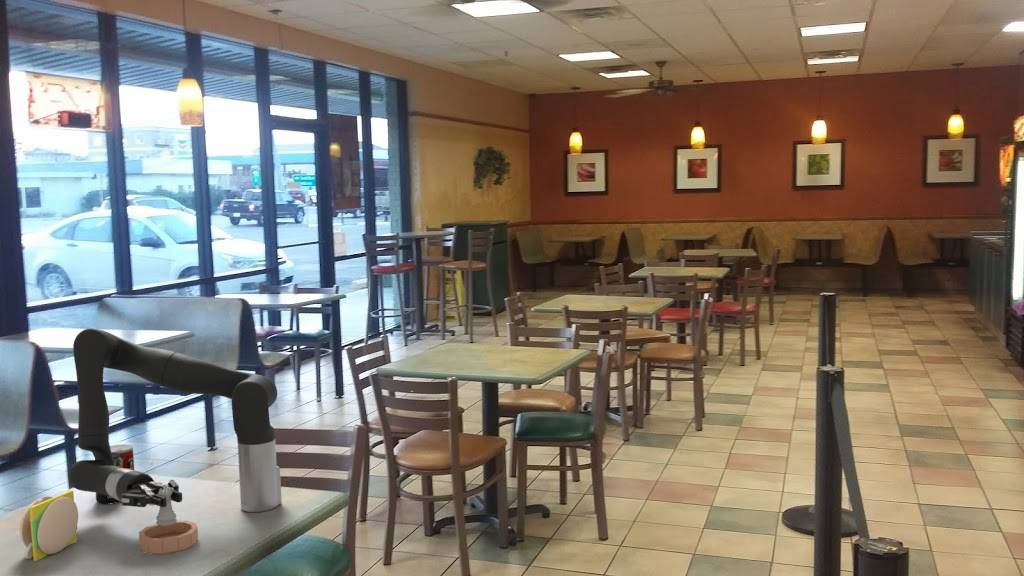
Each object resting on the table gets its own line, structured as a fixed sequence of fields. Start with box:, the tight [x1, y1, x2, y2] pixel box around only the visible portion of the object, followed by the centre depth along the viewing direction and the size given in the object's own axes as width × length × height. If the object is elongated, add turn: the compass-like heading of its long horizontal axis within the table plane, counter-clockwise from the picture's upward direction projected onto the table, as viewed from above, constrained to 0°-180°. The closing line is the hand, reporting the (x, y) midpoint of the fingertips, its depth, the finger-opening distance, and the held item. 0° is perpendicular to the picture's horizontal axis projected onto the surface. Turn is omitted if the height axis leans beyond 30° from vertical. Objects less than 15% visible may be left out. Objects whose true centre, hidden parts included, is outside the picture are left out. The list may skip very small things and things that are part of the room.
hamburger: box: [19, 490, 79, 562], centre depth 207 cm, size 12×8×12 cm
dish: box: [138, 520, 199, 555], centre depth 210 cm, size 12×12×3 cm
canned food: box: [110, 443, 135, 470], centre depth 253 cm, size 8×8×11 cm
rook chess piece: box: [155, 488, 178, 526], centre depth 209 cm, size 4×4×8 cm
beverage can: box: [95, 453, 123, 505], centre depth 241 cm, size 7×7×12 cm
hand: (172, 500), depth 207 cm, fingers closed on rook chess piece, 3 cm apart
